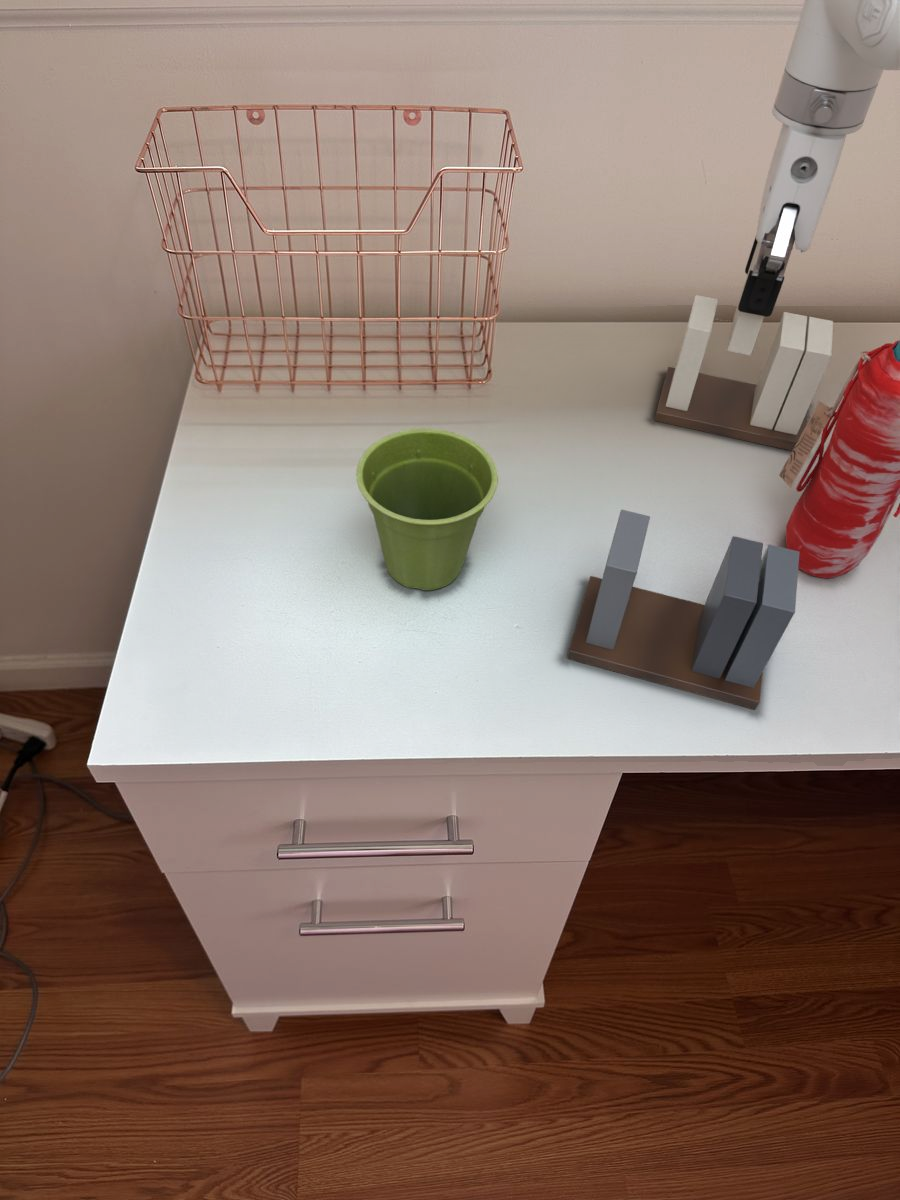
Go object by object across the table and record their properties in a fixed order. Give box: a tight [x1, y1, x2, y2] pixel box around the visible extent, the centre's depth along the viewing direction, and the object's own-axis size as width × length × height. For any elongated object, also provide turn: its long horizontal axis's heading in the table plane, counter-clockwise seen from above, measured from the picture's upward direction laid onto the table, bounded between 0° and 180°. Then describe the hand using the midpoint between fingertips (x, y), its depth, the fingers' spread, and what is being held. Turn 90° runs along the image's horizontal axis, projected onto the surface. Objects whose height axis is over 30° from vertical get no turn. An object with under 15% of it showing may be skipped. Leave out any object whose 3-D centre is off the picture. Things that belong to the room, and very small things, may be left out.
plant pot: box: [355, 427, 499, 591], centre depth 76 cm, size 12×12×11 cm
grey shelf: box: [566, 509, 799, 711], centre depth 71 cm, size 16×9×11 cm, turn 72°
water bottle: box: [778, 339, 900, 579], centre depth 73 cm, size 12×8×25 cm, turn 33°
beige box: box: [727, 233, 775, 356], centre depth 85 cm, size 2×6×10 cm, turn 162°
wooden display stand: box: [653, 294, 834, 452], centre depth 92 cm, size 16×9×11 cm, turn 72°
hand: (757, 292), depth 85 cm, fingers closed on beige box, 6 cm apart
